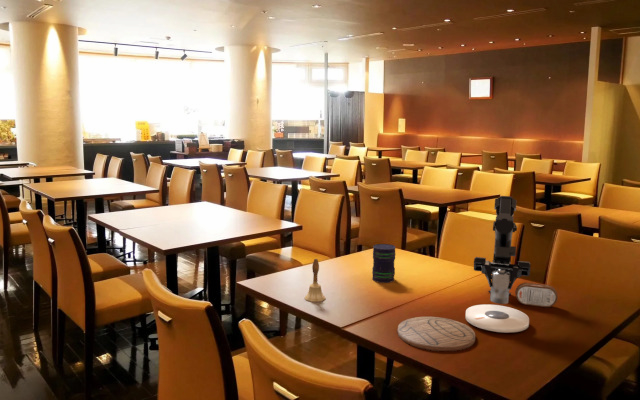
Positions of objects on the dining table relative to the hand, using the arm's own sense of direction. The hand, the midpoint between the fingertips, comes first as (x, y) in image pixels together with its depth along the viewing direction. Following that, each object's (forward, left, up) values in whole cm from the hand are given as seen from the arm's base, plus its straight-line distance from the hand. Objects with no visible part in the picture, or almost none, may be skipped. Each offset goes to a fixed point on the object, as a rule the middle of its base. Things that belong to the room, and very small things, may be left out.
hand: (500, 287), depth 182 cm
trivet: (+25, -1, -14) cm, 29 cm away
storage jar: (+9, -60, -13) cm, 62 cm away
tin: (-28, -9, -14) cm, 32 cm away
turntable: (-1, -1, -13) cm, 13 cm away
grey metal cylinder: (-1, -1, -5) cm, 5 cm away
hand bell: (+47, -49, -14) cm, 70 cm away
